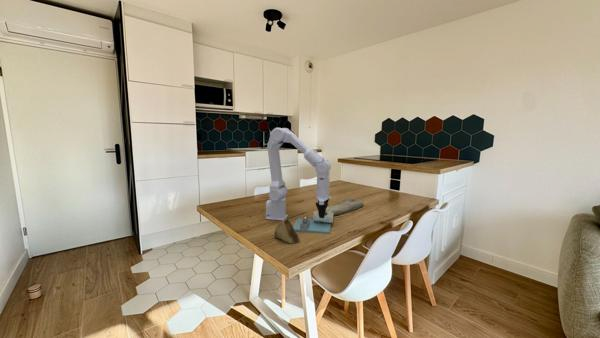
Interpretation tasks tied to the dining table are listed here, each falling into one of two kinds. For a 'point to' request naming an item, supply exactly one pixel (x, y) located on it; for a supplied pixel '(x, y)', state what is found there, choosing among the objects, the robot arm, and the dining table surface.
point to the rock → (286, 232)
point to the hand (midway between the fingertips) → (322, 215)
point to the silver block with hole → (327, 217)
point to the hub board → (314, 226)
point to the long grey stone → (345, 206)
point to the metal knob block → (305, 223)
